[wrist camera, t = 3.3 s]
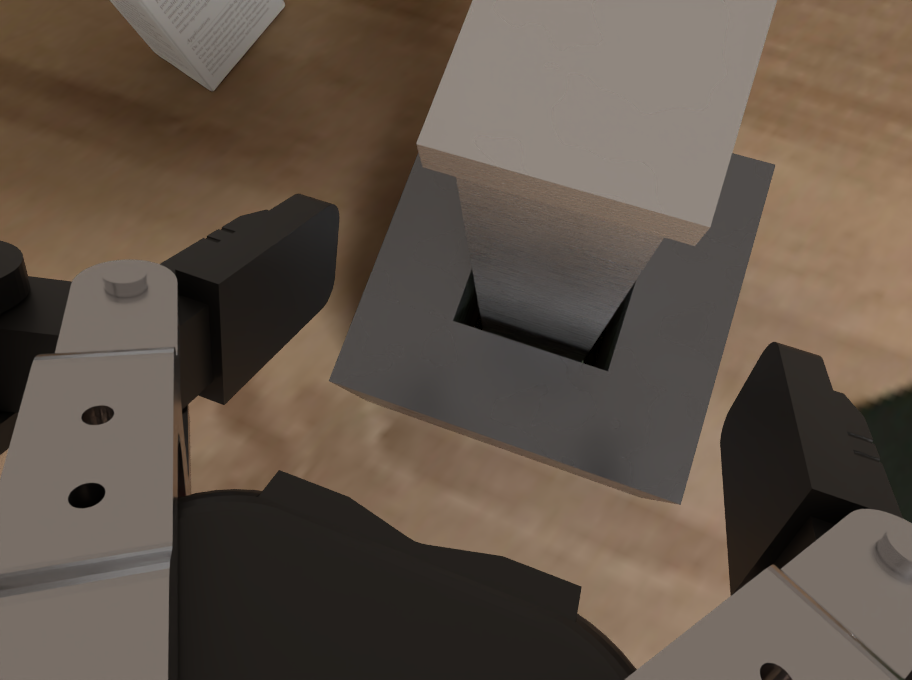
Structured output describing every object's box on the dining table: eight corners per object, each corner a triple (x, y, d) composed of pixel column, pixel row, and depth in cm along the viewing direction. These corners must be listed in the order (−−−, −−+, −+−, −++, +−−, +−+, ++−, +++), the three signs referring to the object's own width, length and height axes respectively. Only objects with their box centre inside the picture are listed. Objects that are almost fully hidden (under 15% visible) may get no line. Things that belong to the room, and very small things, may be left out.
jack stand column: (473, 348, 27) (416, 143, 10) (508, 247, 28) (509, -95, 11) (581, 384, 26) (710, 227, 9) (614, 279, 27) (786, -34, 10)
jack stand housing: (367, 401, 27) (324, 378, 21) (459, 157, 29) (446, 69, 23) (640, 497, 25) (685, 505, 19) (718, 231, 27) (781, 157, 21)
